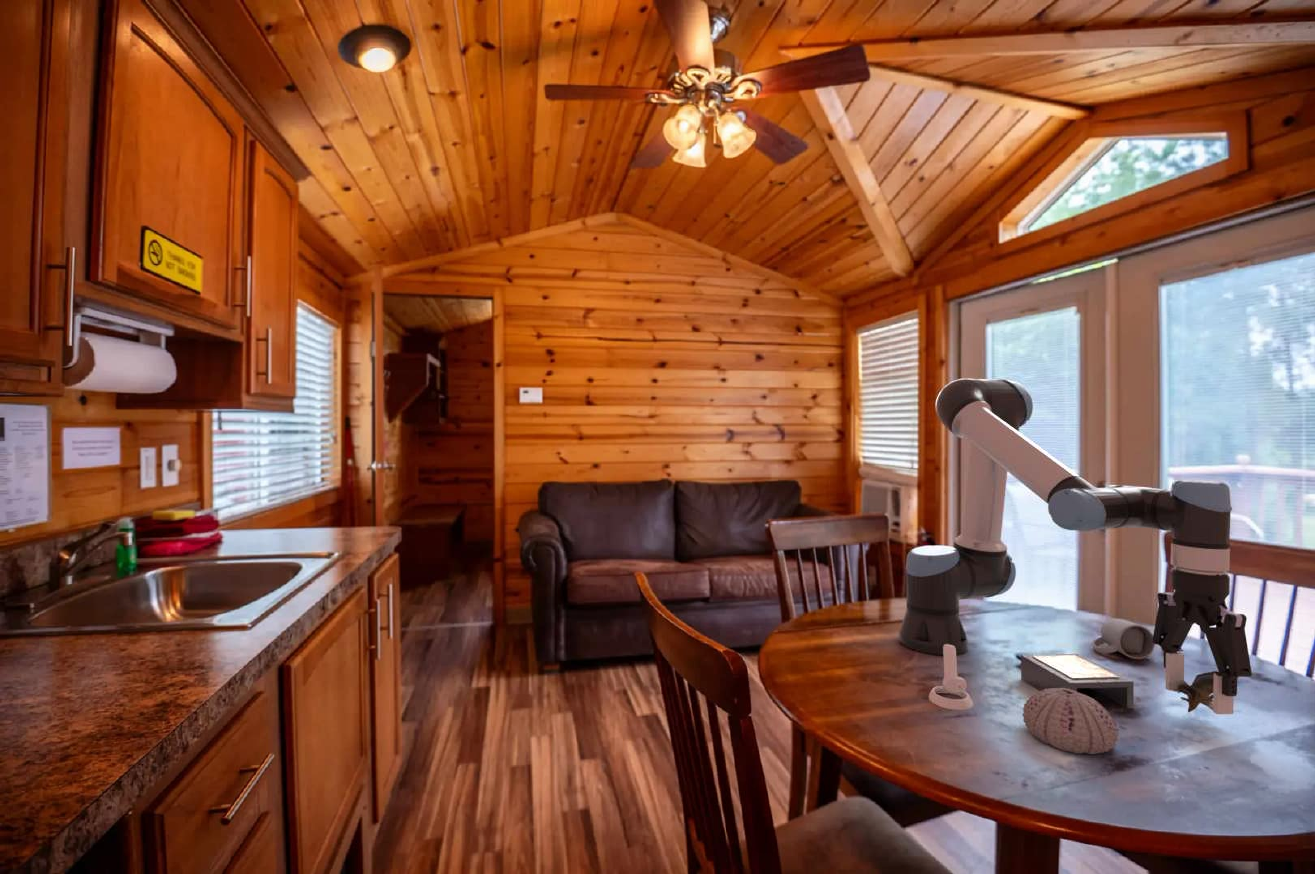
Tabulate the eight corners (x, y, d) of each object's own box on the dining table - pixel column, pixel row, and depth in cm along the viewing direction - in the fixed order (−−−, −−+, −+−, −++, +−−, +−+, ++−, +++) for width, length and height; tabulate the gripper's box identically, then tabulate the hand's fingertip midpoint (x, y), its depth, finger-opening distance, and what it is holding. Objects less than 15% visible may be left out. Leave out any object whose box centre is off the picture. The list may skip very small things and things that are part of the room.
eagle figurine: (1234, 719, 96) (1248, 695, 101) (1200, 677, 99) (1216, 655, 104) (1184, 726, 102) (1200, 703, 107) (1154, 686, 105) (1171, 666, 110)
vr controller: (956, 658, 121) (974, 649, 115) (962, 720, 114) (982, 714, 109) (920, 650, 121) (936, 640, 116) (924, 712, 115) (941, 705, 109)
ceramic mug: (1131, 647, 141) (1130, 615, 141) (1156, 659, 133) (1155, 625, 133) (1083, 646, 142) (1082, 614, 142) (1106, 659, 134) (1105, 625, 134)
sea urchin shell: (1140, 753, 94) (1140, 703, 94) (1076, 767, 90) (1076, 715, 90) (1062, 716, 107) (1061, 671, 107) (1003, 726, 103) (1002, 680, 103)
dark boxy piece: (1070, 709, 109) (1070, 681, 109) (1021, 678, 123) (1020, 653, 123) (1133, 708, 109) (1133, 679, 109) (1077, 677, 123) (1076, 652, 123)
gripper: (1287, 585, 91) (1285, 731, 92) (1165, 556, 112) (1164, 675, 113) (1240, 586, 91) (1238, 732, 91) (1127, 556, 112) (1126, 675, 112)
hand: (1197, 700), depth 102 cm, fingers closed on eagle figurine, 8 cm apart
